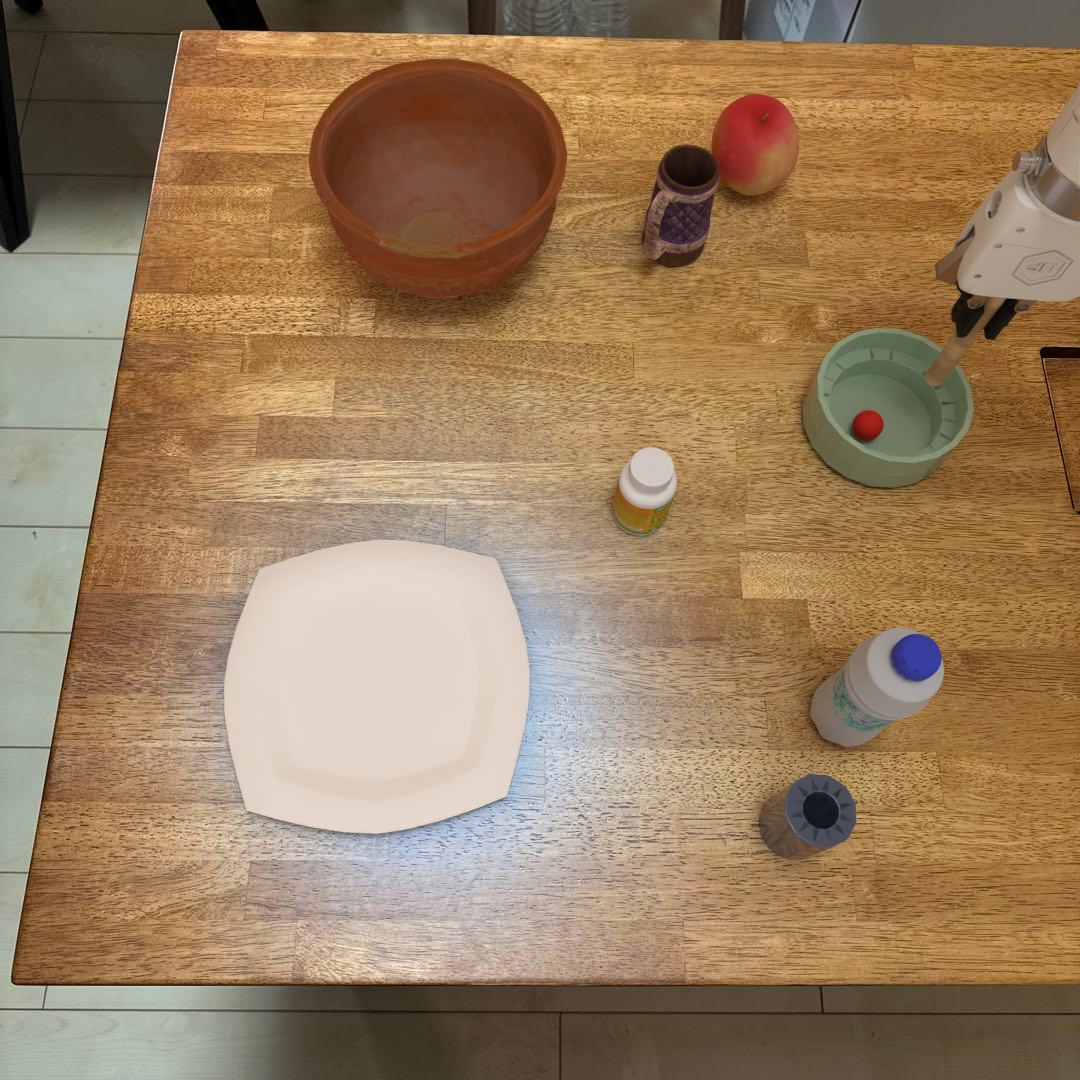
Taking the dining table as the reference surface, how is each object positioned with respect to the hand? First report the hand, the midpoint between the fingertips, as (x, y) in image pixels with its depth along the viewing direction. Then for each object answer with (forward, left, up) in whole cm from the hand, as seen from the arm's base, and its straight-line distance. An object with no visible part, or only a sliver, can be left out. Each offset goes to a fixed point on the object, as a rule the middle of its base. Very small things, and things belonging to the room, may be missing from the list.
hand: (973, 324), depth 89 cm
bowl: (+49, -18, -18) cm, 55 cm away
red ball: (+4, +2, -15) cm, 16 cm away
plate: (+50, +31, -18) cm, 61 cm away
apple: (+16, -31, -18) cm, 39 cm away
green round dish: (+3, 0, -18) cm, 18 cm away
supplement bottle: (+27, +12, -18) cm, 34 cm away
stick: (0, 0, -9) cm, 9 cm away
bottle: (+8, +31, -18) cm, 37 cm away
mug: (+25, -20, -18) cm, 36 cm away
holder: (+13, +41, -18) cm, 46 cm away
